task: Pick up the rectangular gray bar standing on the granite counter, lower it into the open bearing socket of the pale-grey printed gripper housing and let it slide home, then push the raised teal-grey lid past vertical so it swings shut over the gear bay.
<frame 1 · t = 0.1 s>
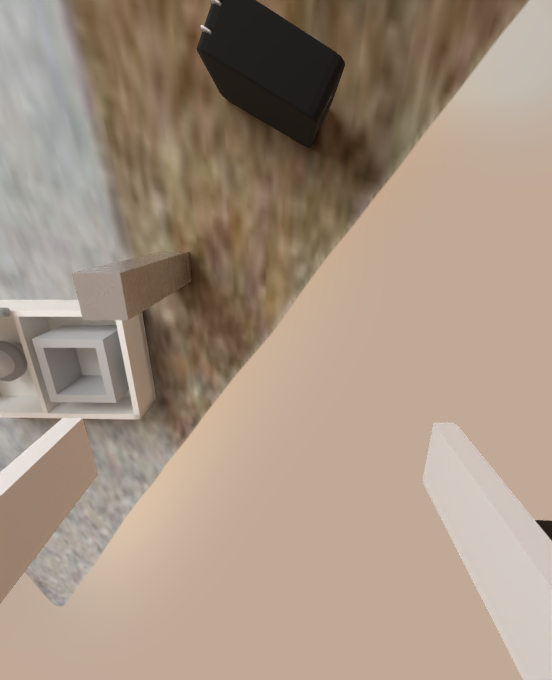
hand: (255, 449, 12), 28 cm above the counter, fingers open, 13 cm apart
electronic device: (276, 102, 32), on the counter
rectangular gray bar: (176, 266, 38), on the counter
housing: (67, 351, 42), on the counter
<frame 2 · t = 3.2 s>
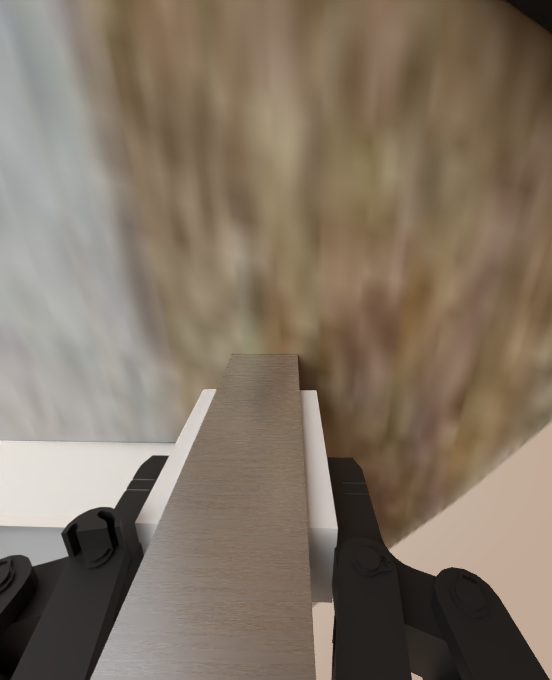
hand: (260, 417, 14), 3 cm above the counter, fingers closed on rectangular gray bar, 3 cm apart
rectangular gray bar: (265, 383, 17), on the counter, touching gripper
housing: (34, 525, 22), on the counter
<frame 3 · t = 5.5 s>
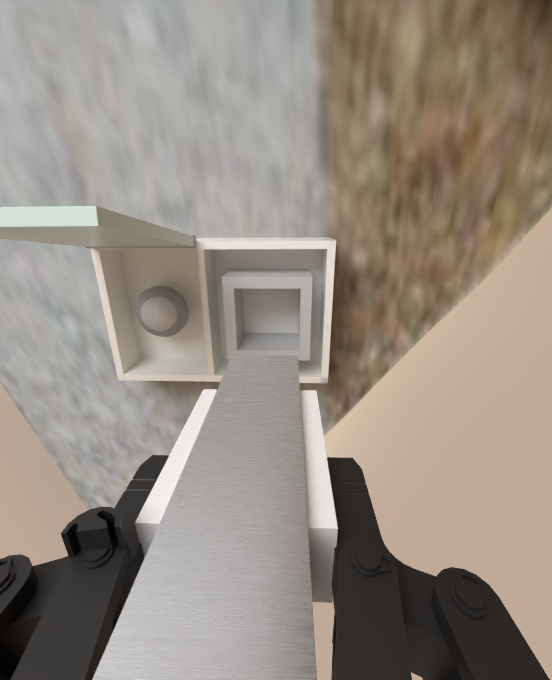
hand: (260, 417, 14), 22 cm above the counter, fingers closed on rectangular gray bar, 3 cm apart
lid: (92, 234, 21), point 12 cm above the counter, hinge at 98.0°
rectangular gray bar: (265, 384, 17), point 19 cm above the counter, touching gripper
housing: (226, 304, 35), on the counter
when the fingers open (7 cm above the counter, at t = 8.2 s): rectangular gray bar drops 3 cm, resting on housing.
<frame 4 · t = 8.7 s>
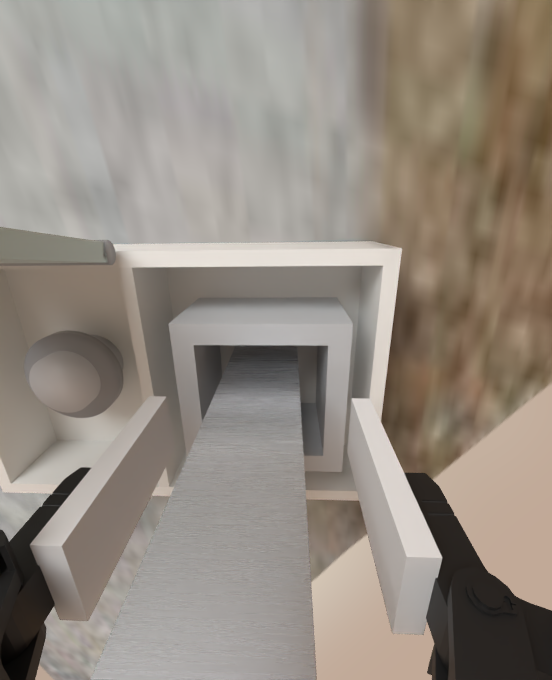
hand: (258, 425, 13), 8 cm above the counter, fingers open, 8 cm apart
rectangular gray bar: (269, 360, 20), point 1 cm above the counter, touching housing
housing: (194, 354, 21), on the counter
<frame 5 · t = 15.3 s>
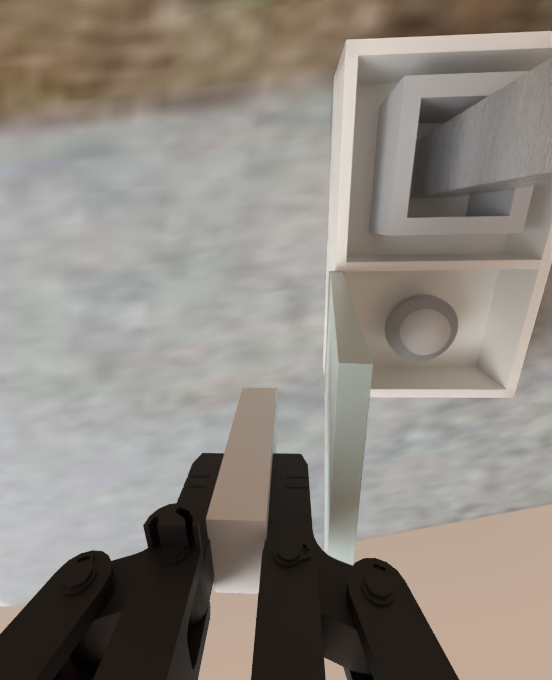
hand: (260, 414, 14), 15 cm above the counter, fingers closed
lid: (336, 388, 16), point 13 cm above the counter, hinge at 96.2°, touching gripper
rectangular gray bar: (430, 172, 23), point 1 cm above the counter, touching housing
housing: (415, 244, 25), on the counter
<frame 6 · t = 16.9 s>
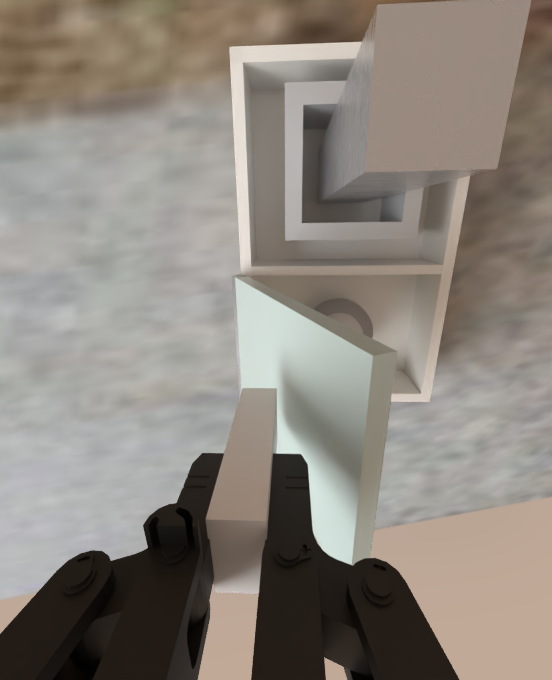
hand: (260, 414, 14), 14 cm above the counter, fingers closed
lid: (280, 387, 17), point 12 cm above the counter, hinge at 65.7°
rectangular gray bar: (341, 177, 23), point 1 cm above the counter, touching housing
housing: (336, 248, 25), on the counter
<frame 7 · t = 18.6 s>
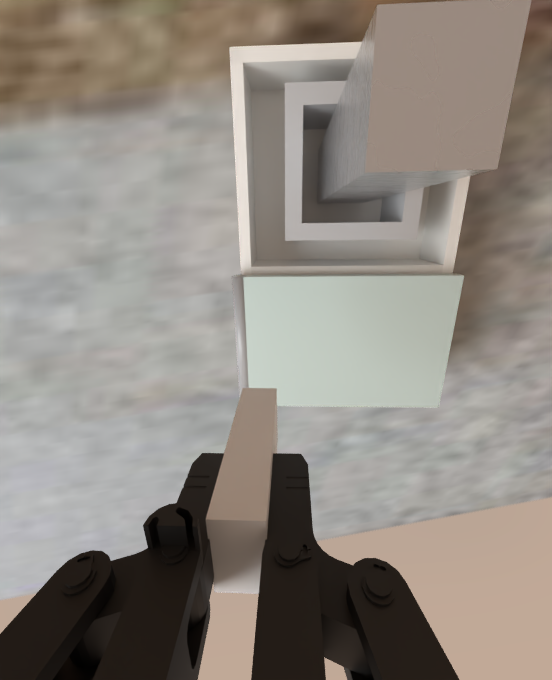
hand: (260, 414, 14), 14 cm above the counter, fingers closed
lid: (340, 344, 22), point 6 cm above the counter, hinge at -0.2°
rectangular gray bar: (341, 177, 23), point 1 cm above the counter, touching housing
housing: (336, 248, 25), on the counter
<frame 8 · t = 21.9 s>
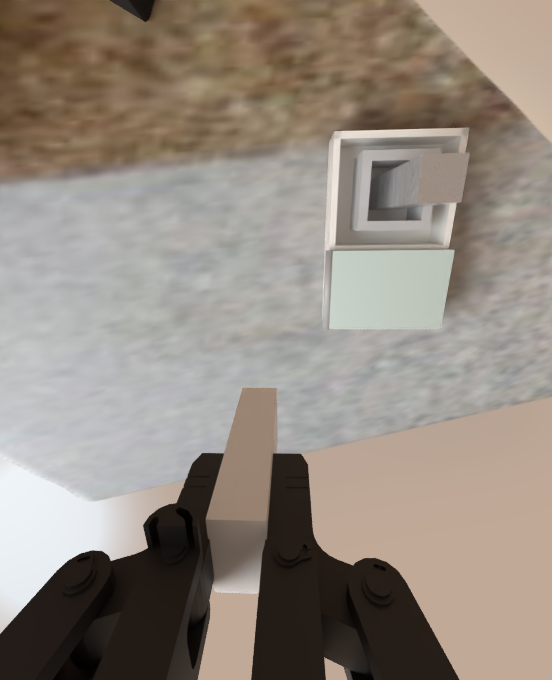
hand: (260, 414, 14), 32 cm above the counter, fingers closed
lid: (384, 290, 39), point 6 cm above the counter, hinge at -0.2°
rectangular gray bar: (384, 194, 39), point 1 cm above the counter, touching housing
housing: (378, 237, 42), on the counter
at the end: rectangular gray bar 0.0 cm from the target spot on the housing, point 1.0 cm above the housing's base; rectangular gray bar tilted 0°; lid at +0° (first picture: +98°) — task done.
